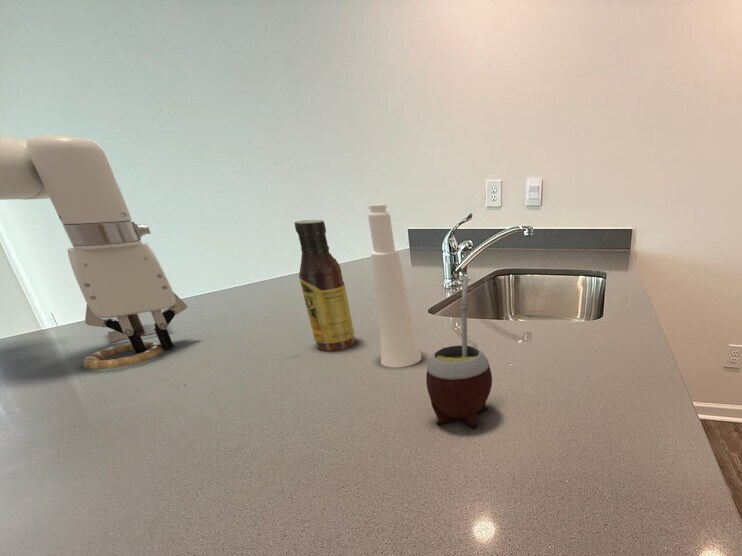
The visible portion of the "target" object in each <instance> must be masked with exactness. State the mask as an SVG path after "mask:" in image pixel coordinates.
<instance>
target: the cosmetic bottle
mask: <svg viewBox="0 0 742 556" xmlns="http://www.w3.org/2000/svg"><path fill="white" fill-rule="evenodd" d="M387 208H388V207H387V204H385V203H376V204H375V203H374V204H369V205H368V209H369V212H368V214H367V218H368V224H369V230H370V237H371V242H372V248H373V251H372V252H371V253H370V257H371V265H372V275H373V283H374V291H375V299H376V306H377V316H378V326H379V334H380V335H379V336H380V337H379V338H380V363H381V365H382V366H384V367H386V368H404V367H409V366H413V365H415V364H418V363H419V362H420V361H422V355H421V352H420V349H419V345H418V342H417V337H416V333H415V330H414V325H413V321H412V316H411V311H410V306H409V305H410V304H409V299H408V295H407V290H406V283H405V278H404V274H403V268H402V263H401V258H400V253H399V251H398V250H396V248H395V241H394V234H393V227H392V219H391V215H390V212H388V211H387Z"/></svg>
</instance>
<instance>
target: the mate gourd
mask: <svg viewBox="0 0 742 556" xmlns="http://www.w3.org/2000/svg"><path fill="white" fill-rule="evenodd" d="M469 277H470V276H469V275H464V276H463V281H462V288H461V300H460V302H459V303H460V306H459V308H460V310H461V345H451V346H445V347H442V348H439V349H438V350H436V351H435V352H434V353H433V354H432V355H431V356H430V358H429V360H428V361H427V365H426V375H425V376H426V377H425V380H426V381H425V383H426V388H427V389H426V390H427V393H428V395H429V398H430V403H431V407H432V409H433V412H434V414H435V417H436V418H437V421H436V422H435V423H436V425H437V426H439V427H440V426H444V425H447V424H450V423H453V422H456V421H462V422H463V423H465V425H466V426H467V427H469V429H471V430H475V429H478V428H479V425H478V424H477V423H476V418H477V414H480V413H484V412H488V410H489V408H488V407H487V406H486V404H487V400H488V398H489V396H490V393H491V390H492V387H493V386H492V385H493V376H492V369H491V367H490V361H489V359H488V358H487V356H486V355H485V353H483V351H482V350H480V348H477V347H476V346H471V345H468V309H469V301H468V299H467V298H468V288H469V286H468V285H469Z"/></svg>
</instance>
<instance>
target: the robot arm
mask: <svg viewBox="0 0 742 556" xmlns="http://www.w3.org/2000/svg"><path fill="white" fill-rule="evenodd" d="M46 199H49V200H50V201H51V204H52V206H53V207H54V210H55V212H56V214H57V216H58V218H59V220H60V222H61V224H62V226H63V229H64V231H65V233H66V235H67V237H68V239H69V241H70V243H71V245H72V247H70V248H67V255H68V256H67V257H68V258H69V263H70V266H71V269H72V272H73V275H74V278H75V280H76V282H77V285H78V287H79V289H80V291H81V293H82V296H83V298H84V300H85V302H86V307H85V317H84V323H85V325H87V326H91V327H97V328H98V327H99V328H107V329H110V330H112V331H118V332H120V333H123V334H125V335H126V336H128V338H129V339H128V340H129V342H130V343H131V344H132V346H133V349H134V350H133V351H134V353H135V355H136V354H139V353H142V352H145V351H147V350H146V348H145V345H144V343H143V342H144V341H143V339H142V337H140V334H139V332H136V330H135V328H133V327H132V326H131V324H130V321H129V319H128V317H127V315H132V314H138V315H139V314H142V313H148V312H149V313H151V315H152V318H153V320H154V322H155V324H154V323H153V324H154V325H155V328H154V329H155V332H156V334H155V335H156V336H157V339H158V341H159V344H161V345H162V347H163V349H164V351H163V352H166V351H170V350H171V348H170V347H174V344H173V341H172V338H171V336H170V334H169V331H168V328H169V325H170V323H172V321H173V319H174V317H175V316H177V315H179V314H181V313H182V312H183V311H185V310H187V309H188V305H187V304H186V303H185V301H183V300H182V299H181V298H180V297H179V296H178V295H177V294H176V293H175V292H174V291H173V288H172V286H171V284H170V283H171V282H170V281H169V279H168V277H167V275H166V272H165V271H164V268H163V267H162V265H161V262H160V261H159V259H158V257H157V256H156V253H155V252H154V250H153V248H152V247H151V245H150V244H149V242H146V241H143V240H142V238H143V236H146V235H151V234H152V233H151V230H150V228H149V225H148V224H141V223H137V222H135V221H134V220H133V217H132V214H131V212H130V210H129V207H128V204H127V202H126V200H125V196H124V195H123V191H122V189H121V187H120V185H119V182H118V180H117V178H116V175H115V173H114V170H113V167H112V164H111V163H110V159H109V157H108V155H107V153H106V151H105V149H104V148H103V147H102V146H101V144H99V143H98V141H95V140H93V139H90V138H87V137H80V136H69V135H36V136H32V137H29V139H28V138H19V137H12V136H11V137H10V136H2V135H0V200H1V201H2V200H6V201H7V200H46ZM162 311H163V312H162ZM113 318H116V319H117V320H116V319H113Z"/></svg>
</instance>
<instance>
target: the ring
mask: <svg viewBox="0 0 742 556" xmlns="http://www.w3.org/2000/svg"><path fill="white" fill-rule="evenodd" d="M143 343H144V345H145V348H146V350H147V351H145V352H142V353H138V354H136V353H135V354H133V355H128V356H124V357H119V358H113V359H112V358H111V359H106V358H108V357H111V356H114V355H117V354H121V353H125V352H131V351H134V349H133V346H132V344H131V342H130V343H124V344H119V345H115V346H111V347H107V348H104V349H101V350H98V351H94V352H93V353H91V354H90V355H88V356H86V357H85V358H84V359H83V367H84V368H85V369H90V370H91V369H92V370H105V369H115V368H119V367H124V366H125V367H126V366H128V365H129V366H130V365H133V364H138V363H141V362H144V361H147V360H149V359H152V358H155V357H157V356H159V355H160V354H162V353H163V352H165V351H164V349H163V347H162V345H161V343H160V342H151V341H143Z"/></svg>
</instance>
